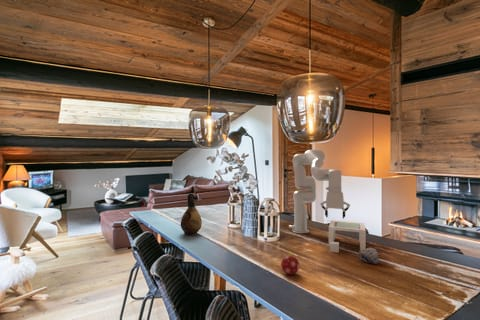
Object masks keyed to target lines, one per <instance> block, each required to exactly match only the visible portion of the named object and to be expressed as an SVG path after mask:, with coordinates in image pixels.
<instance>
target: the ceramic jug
mask: <svg viewBox="0 0 480 320" xmlns="http://www.w3.org/2000/svg"><path fill="white" fill-rule="evenodd" d="M198 201H199V198H198V196H195V195H194V193H192V192H190V193H188V195H187V209H186V210H185V212H184V213H183V215H182V216H181V220H180V228H181V230H182V231H183V234H184V236H187V237H193V236H196V235H197V234H198V233H199V231H200V230H201V228H202V224H203V223H202V217H201V214H200V212H199V211H198V209H197V208H196V206H195V202H198Z"/></svg>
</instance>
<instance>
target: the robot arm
mask: <svg viewBox="0 0 480 320" xmlns="http://www.w3.org/2000/svg"><path fill="white" fill-rule="evenodd" d="M324 161H325V152H324V151H323V150H321V149H308V150H306V151H305V152H304V153H296V154H295V155H293V157H292V166H293V171H294V185H295V188H297V189H299V190H295V191H294V192H293V194H292V198H293V205H294V207H293V211H294V213H293V214H294V217H293V219H294V220H293V221H294V222H293V225H291V224H288V228H289V229H291V231H292V232H293V233H295V234H296V233H297V234H308V233H309V232H310V230H309V229H308V208H307V206H306V205H305V204H306V203H307V204H308V203H314V202H316V199H317V188H316V187H317V186H316V183H317V182H316V181H319V182H320V181H321V182H325V181H327V182H328V187H326V188H325V190H327V192H326V200H325V201H322V202H320V206H321V208H322V209H323V211H324V215H325V218H328V216H329V212H328V209H337V210H342V219H345V218H346V212H347V211H348V210H349V208H350V206H351V204H350V203H348V202H346V201H345V200H344V193H343V191H342V170H340V169H332V168H322V167H323V165H324ZM304 166H310V174H311V175H312V176H311V175H309V176H307V172H306V169H305V167H304ZM301 189H302V190H301ZM324 204H325V206H324ZM344 205H345V206H346V207H345V206H344Z"/></svg>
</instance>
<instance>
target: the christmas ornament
mask: <svg viewBox="0 0 480 320" xmlns="http://www.w3.org/2000/svg"><path fill="white" fill-rule="evenodd" d="M280 263H281V270H282V271H283V272H284V273H285V274H287V275H292V276H293V275H296V273H297V272H298V271H299V269H300V262H299V260H298V258H296V257H295V256H294V255H293V254H292V253H291V252H290V253H288V255H286V256H285V257H283V258H282V260H281V262H280Z"/></svg>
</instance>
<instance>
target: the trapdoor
mask: <svg viewBox="0 0 480 320" xmlns="http://www.w3.org/2000/svg"><path fill="white" fill-rule="evenodd" d="M344 222H345V221H344ZM344 222H336V224H335V227H346V228H357V229H359V224H355V223H344Z"/></svg>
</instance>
